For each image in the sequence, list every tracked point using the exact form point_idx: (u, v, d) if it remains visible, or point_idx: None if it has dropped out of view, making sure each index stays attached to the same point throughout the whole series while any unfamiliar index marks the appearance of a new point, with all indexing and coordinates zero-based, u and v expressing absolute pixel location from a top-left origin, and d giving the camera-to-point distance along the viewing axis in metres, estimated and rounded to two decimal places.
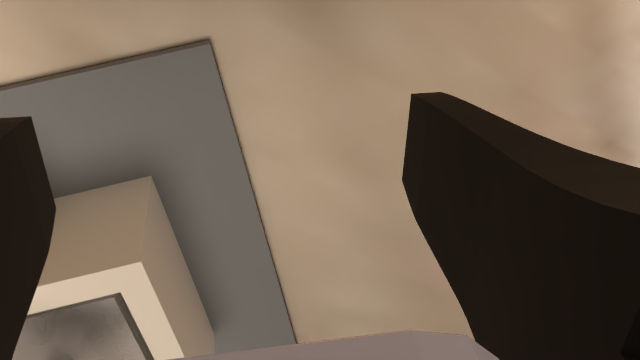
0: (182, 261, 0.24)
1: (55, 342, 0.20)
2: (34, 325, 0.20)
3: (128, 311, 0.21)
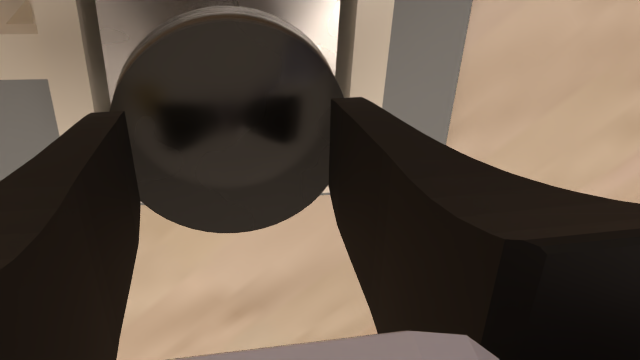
0: None
1: None
2: (115, 41, 0.15)
3: None
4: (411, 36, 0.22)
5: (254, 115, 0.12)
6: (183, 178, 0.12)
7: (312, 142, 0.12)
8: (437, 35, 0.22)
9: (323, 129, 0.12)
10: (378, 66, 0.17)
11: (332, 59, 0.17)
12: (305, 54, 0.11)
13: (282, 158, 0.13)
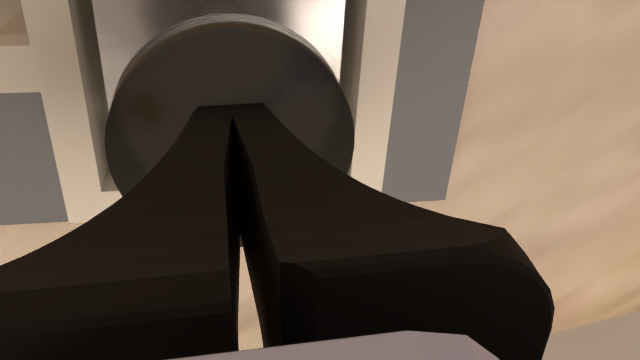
0: None
1: (152, 36, 0.15)
2: (114, 48, 0.15)
3: None
4: (419, 44, 0.21)
5: None
6: None
7: (317, 154, 0.12)
8: (446, 43, 0.21)
9: (329, 141, 0.12)
10: (387, 78, 0.16)
11: (336, 66, 0.16)
12: (310, 64, 0.11)
13: None
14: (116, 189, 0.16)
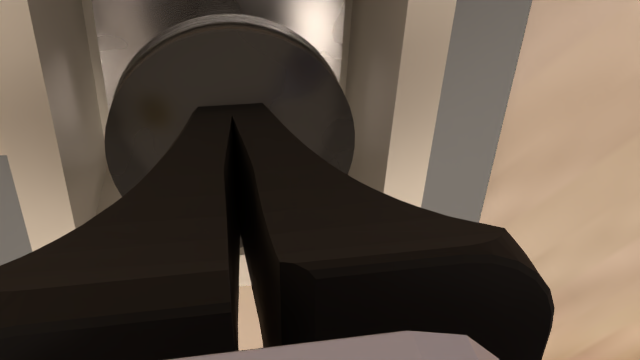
0: None
1: (152, 37, 0.15)
2: (114, 48, 0.15)
3: None
4: (450, 79, 0.18)
5: None
6: None
7: (318, 154, 0.12)
8: (480, 77, 0.19)
9: (329, 141, 0.12)
10: (423, 133, 0.13)
11: (336, 66, 0.16)
12: (310, 64, 0.11)
13: None
14: None
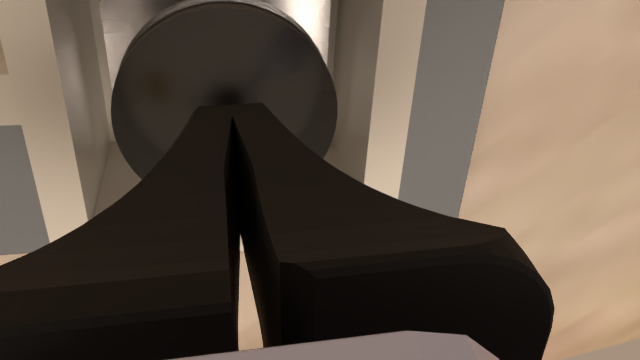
0: None
1: None
2: (117, 31, 0.16)
3: None
4: (432, 62, 0.20)
5: (248, 97, 0.13)
6: None
7: (304, 123, 0.13)
8: (460, 61, 0.20)
9: (314, 111, 0.13)
10: (401, 106, 0.15)
11: (324, 49, 0.17)
12: (296, 39, 0.12)
13: None
14: None
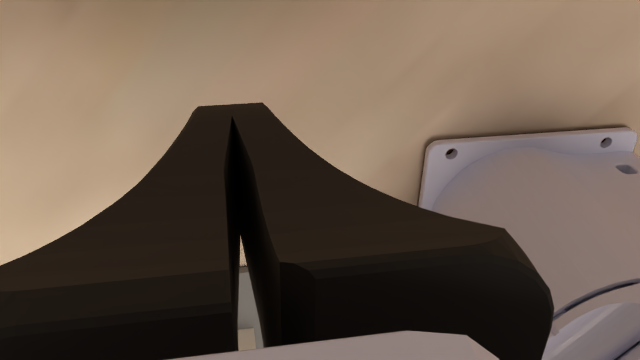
0: None
1: None
2: None
3: None
4: None
5: None
6: None
7: None
8: None
9: None
10: None
11: None
12: None
13: None
14: None
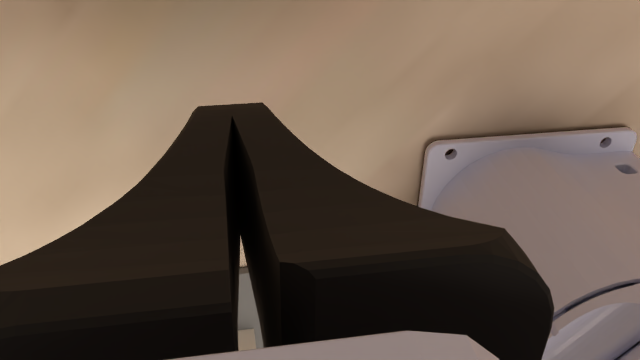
0: None
1: None
2: None
3: None
4: None
5: None
6: None
7: None
8: None
9: None
10: None
11: None
12: None
13: None
14: None
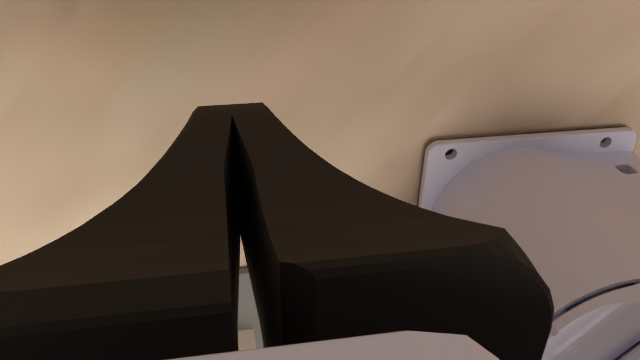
0: None
1: None
2: None
3: None
4: None
5: None
6: None
7: None
8: None
9: None
10: None
11: None
12: None
13: None
14: None
